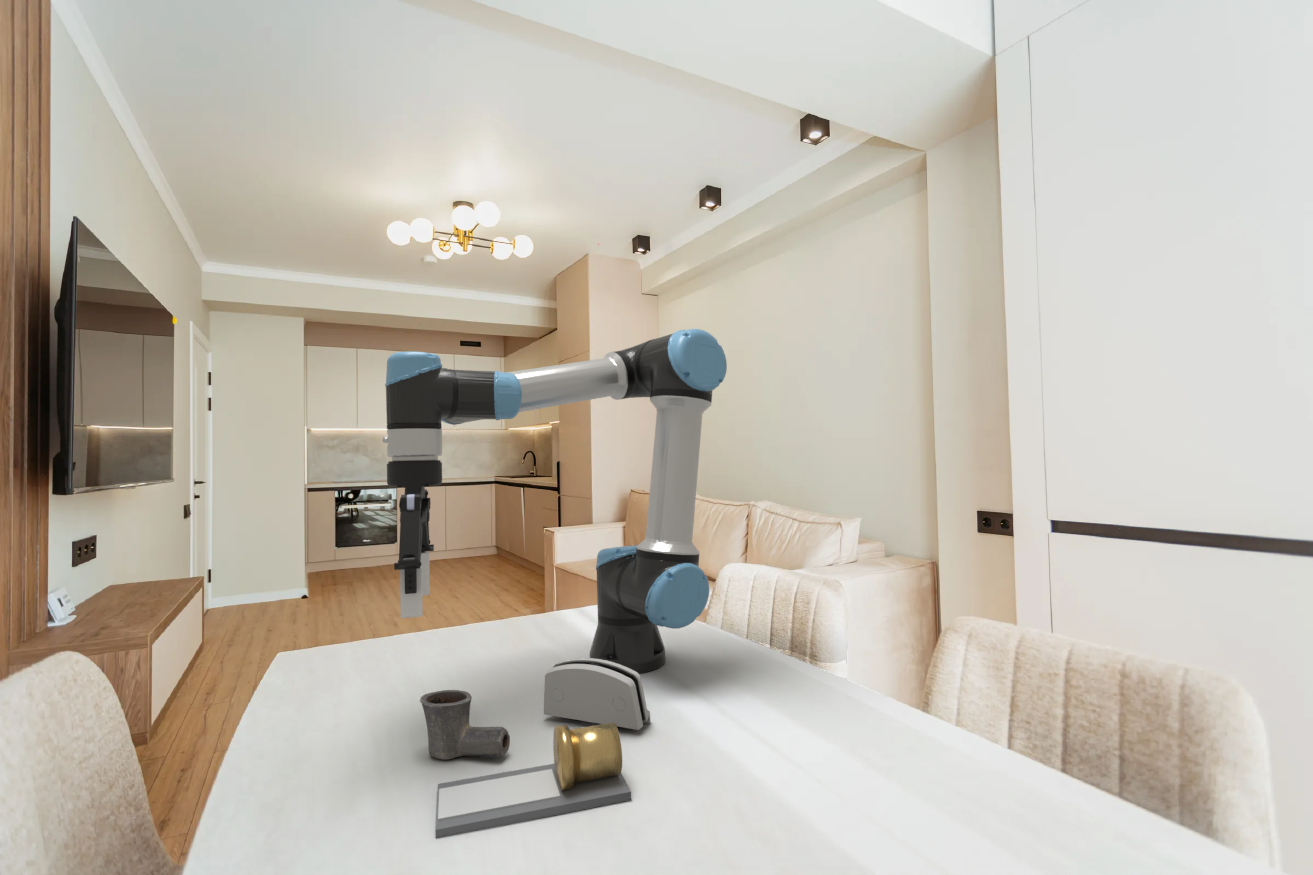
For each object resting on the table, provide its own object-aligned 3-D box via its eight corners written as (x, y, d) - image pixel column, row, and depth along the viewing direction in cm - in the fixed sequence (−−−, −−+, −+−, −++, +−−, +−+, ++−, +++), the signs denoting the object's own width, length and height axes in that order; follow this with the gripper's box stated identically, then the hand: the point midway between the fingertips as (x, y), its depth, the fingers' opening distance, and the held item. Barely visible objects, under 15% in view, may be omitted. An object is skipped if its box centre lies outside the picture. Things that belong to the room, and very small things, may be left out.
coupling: (610, 763, 83) (608, 708, 83) (624, 791, 76) (622, 731, 76) (553, 773, 80) (552, 716, 81) (563, 803, 74) (562, 741, 74)
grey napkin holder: (653, 723, 96) (648, 660, 95) (640, 739, 91) (636, 674, 91) (558, 708, 102) (553, 649, 101) (542, 723, 98) (537, 661, 97)
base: (611, 760, 84) (611, 751, 84) (631, 799, 75) (631, 789, 75) (437, 791, 77) (437, 782, 77) (435, 838, 68) (435, 827, 68)
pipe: (496, 770, 83) (495, 709, 83) (409, 762, 85) (408, 703, 85) (516, 748, 88) (515, 691, 89) (434, 741, 91) (433, 686, 91)
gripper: (397, 459, 102) (399, 589, 102) (373, 460, 78) (374, 630, 78) (445, 458, 104) (447, 585, 104) (436, 458, 80) (438, 624, 80)
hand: (416, 605), depth 91 cm, fingers open, 13 cm apart
